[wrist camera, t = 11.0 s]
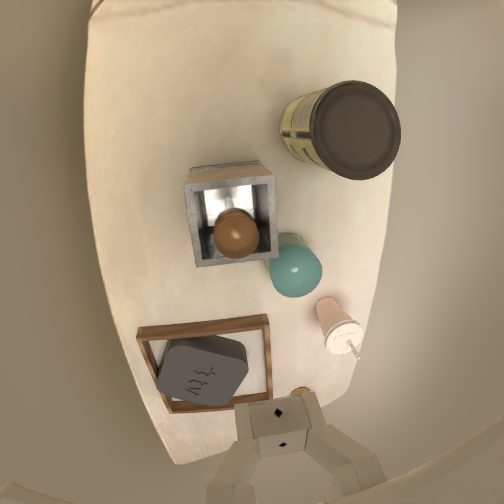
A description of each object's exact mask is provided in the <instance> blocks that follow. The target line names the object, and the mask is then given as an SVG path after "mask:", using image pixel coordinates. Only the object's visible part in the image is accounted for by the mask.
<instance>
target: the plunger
mask: <svg viewBox="0 0 504 504" xmlns="http://www.w3.org/2000/svg"><path fill="white" fill-rule="evenodd" d="M204 195H205V204H206V211H207V219H208V226H214V243H215V246H216V248H217V250H218V251H219V252H220V253H221V254H222V255H224V256H225V257H228V258H231V259H241V258H244V257H247V256H248V255H250V254H251V253H252V252H253V251H254V250H255V249H256V247H257V245H258V243H259V231H258V229H257V226H256V224H255V222H254V213H253V200H252V188H251V185H248V186H238V187H229V188H220V189H211V190H204Z"/></svg>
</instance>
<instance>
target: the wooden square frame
mask: <svg viewBox="0 0 504 504" xmlns="http://www.w3.org/2000/svg"><path fill="white" fill-rule="evenodd" d="M259 329H263V339H264V354H265V368H266V382H267V392H264V393H257V394H250V395H243V396H234V397H232V398H231V400H230V401H229V402H228V403H227V404H225V405H222V406H209V405H204V404H199V403H194V402H190V401H173V400H172V398H171V397H169V396H166V395H164V394H162V393H160V392H159V393H160V395H161V397H162V399H163V402H164V404H165V406H166V408H167V410H168V412H169V414H177V413H197V412H211V411H222V410H232V409H234V405H235V404H241V403H250V402H258V401H265V400H272V399H273V387H272V366H271V346H270V327H269V321H268V318H267V314H261V315H253V316H246V317H238V318H230V319H221V320H213V321H204V322H194V323H184V324H173V325H161V326H149V327H139V329H138V332H137V336H136V340H137V342H138V345H139V347H140V350H141V352H142V355H143V357H144V359H145V362H146V364H147V367H148V369H149V371H150V373H151V376H152V378H153V380H154V382H155V385H156V384H157V378H158V371H159V368H158V365H157V363H156V360H155V358H154V355H153V352H152V350H151V347H150V344H149V342H148V341H153V340H167V339H179V338H190V337H201V336H210V335H219V334H228V333H236V332H244V331H252V330H259ZM248 406H249V404H248Z"/></svg>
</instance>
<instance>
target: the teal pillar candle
mask: <svg viewBox="0 0 504 504" xmlns="http://www.w3.org/2000/svg"><path fill="white" fill-rule="evenodd" d="M278 251H279V258H271V259H264V260H265V264H266V266H267V269H268V271H269V274H270V277H271V279H272V282H273V285H274V287H275V288H276V290H277V291H278V292H279V293H280V294H282V295H284V296H287V297H301V296H304V295H306V294H308V293H310V292H311V291H313V290H314V289H315V288H316V286H317V285H318V284H319V282H320V280H321V277H322V266H321V263H320V261H319V260H318V258H317V257H316V256H315V254H314V253H313V252H312V251H311V249H310V248H309V247H308V245H307V244H306V243H305V241H304V240H303V239H302V238H301V237H299V236H298V235H295V234H292V233H285V234H280V235H278Z"/></svg>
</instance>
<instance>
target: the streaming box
mask: <svg viewBox="0 0 504 504" xmlns="http://www.w3.org/2000/svg"><path fill="white" fill-rule="evenodd" d="M247 373H248V363H247V356H246V350H245V347H244V346H243V345H242V344H241V343H240V342H237V341H234V340H230V339H226V338H222V337H219V336H215V335H210V336H201V337H190V338H179V339H168V342H167V345H166V348H165V351H164V354H163V357H162V360H161V363H160V366H159V371H158V378H157V384H156V387H157V389H158V391H159V392H160V393H162V394H164V395H166V396H169V397H173V398H177V399H181V400H185V401H190V402H194V403H199V404H204V405H209V406H222V405H225V404H227V403H228V402H229V401H230V400H231V398H232V396H233V395H234V393H235V392H236V390H237V389H238V387H239V386H240V384H241V382H242V381H243V379H244V378H245V376H246V375H247Z"/></svg>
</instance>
